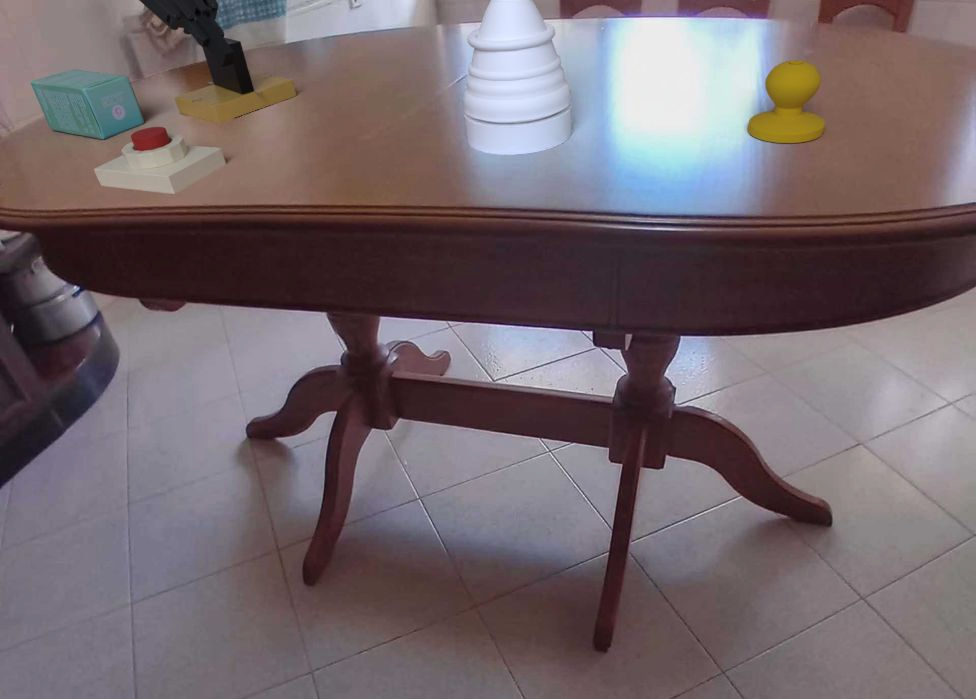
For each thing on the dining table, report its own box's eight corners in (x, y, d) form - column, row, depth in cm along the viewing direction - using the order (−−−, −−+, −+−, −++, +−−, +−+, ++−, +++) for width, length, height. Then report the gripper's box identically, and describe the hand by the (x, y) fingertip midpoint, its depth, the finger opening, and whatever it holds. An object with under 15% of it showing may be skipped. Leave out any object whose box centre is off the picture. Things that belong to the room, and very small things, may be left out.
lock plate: (225, 125, 100) (219, 106, 99) (173, 112, 108) (167, 95, 107) (303, 96, 109) (299, 79, 107) (250, 86, 116) (245, 70, 115)
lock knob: (254, 91, 104) (240, 39, 100) (242, 94, 103) (227, 42, 99) (225, 81, 111) (210, 32, 106) (213, 84, 110) (198, 35, 105)
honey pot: (476, 119, 92) (461, -35, 82) (574, 115, 90) (572, -44, 79) (457, 156, 82) (437, -14, 71) (568, 153, 80) (563, -24, 69)
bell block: (100, 186, 85) (86, 154, 83) (155, 158, 91) (143, 128, 89) (174, 194, 80) (162, 161, 78) (226, 164, 87) (216, 133, 85)
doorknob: (786, 149, 75) (732, 130, 81) (839, 131, 78) (783, 114, 83) (798, 77, 70) (740, 62, 76) (854, 61, 73) (793, 48, 79)
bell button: (128, 151, 83) (122, 137, 82) (153, 139, 86) (148, 125, 85) (153, 154, 82) (148, 139, 81) (178, 141, 85) (172, 127, 84)
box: (104, 141, 99) (82, 87, 95) (50, 132, 106) (27, 81, 101) (147, 124, 104) (128, 72, 100) (93, 117, 111) (73, 67, 106)
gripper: (163, -60, 106) (260, 65, 106) (79, -46, 98) (184, 89, 99) (169, -103, 100) (271, 30, 100) (80, -91, 92) (191, 53, 93)
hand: (228, 59), depth 100 cm, fingers closed
